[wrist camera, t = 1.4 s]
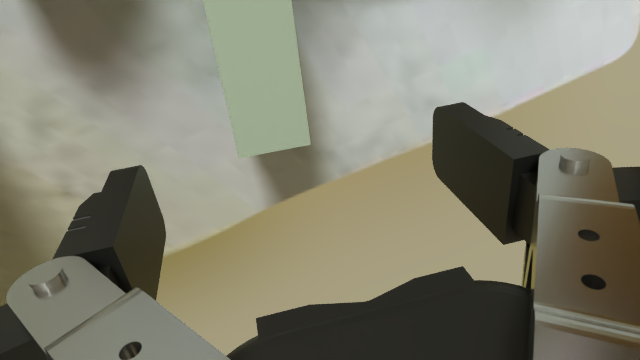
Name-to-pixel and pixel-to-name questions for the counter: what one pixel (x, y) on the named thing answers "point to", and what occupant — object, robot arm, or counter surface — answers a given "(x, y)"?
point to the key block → (259, 73)
